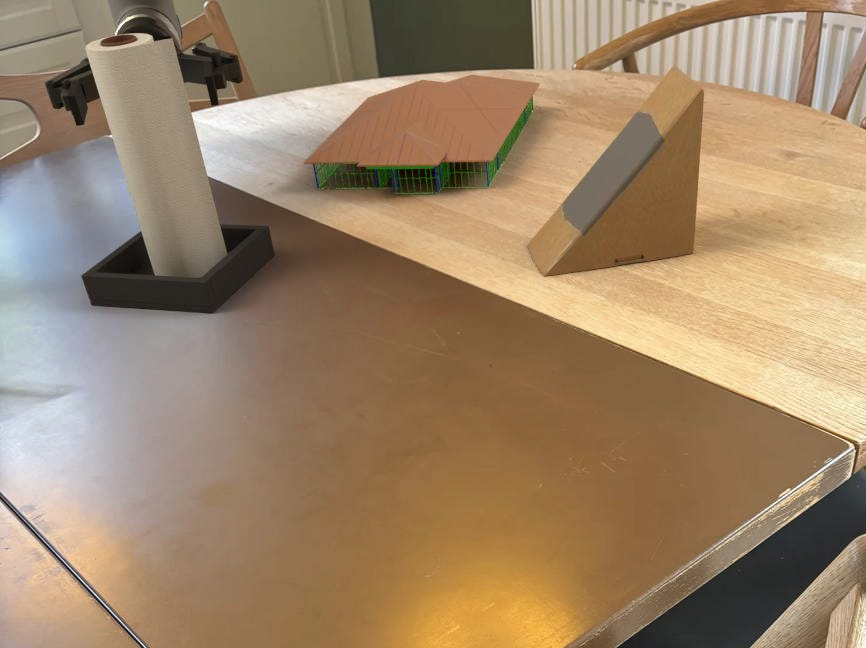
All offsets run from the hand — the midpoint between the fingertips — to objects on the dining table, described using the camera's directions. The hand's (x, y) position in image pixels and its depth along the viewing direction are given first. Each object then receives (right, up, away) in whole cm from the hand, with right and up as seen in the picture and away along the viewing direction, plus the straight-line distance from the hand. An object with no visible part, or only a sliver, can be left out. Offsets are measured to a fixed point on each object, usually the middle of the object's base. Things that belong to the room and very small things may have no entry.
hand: (144, 100), depth 102 cm
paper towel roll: (+4, -16, +3) cm, 17 cm away
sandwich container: (+47, -15, +1) cm, 49 cm away
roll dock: (+3, -17, +3) cm, 17 cm away
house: (+27, +8, +27) cm, 40 cm away
